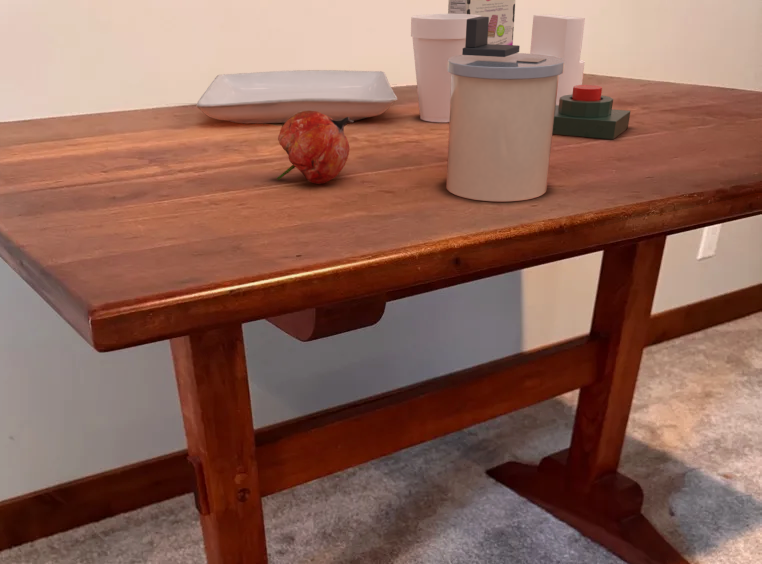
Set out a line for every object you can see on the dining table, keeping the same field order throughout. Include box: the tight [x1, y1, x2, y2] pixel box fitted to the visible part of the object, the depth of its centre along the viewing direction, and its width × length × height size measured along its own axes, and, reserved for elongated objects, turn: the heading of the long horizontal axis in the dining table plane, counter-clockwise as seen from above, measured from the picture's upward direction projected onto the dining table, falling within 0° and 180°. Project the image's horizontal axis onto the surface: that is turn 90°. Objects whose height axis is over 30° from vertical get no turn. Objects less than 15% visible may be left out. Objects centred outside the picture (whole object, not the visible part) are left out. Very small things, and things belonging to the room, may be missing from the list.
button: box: [572, 84, 603, 101], centre depth 102 cm, size 4×4×2 cm
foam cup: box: [410, 13, 481, 123], centre depth 110 cm, size 10×9×13 cm
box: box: [552, 94, 631, 141], centre depth 104 cm, size 10×8×4 cm
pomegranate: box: [276, 111, 355, 185], centre depth 82 cm, size 7×7×10 cm
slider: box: [462, 17, 520, 57], centre depth 74 cm, size 4×4×3 cm
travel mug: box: [445, 52, 565, 203], centre depth 78 cm, size 11×11×12 cm
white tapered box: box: [529, 13, 586, 105], centre depth 119 cm, size 9×9×12 cm
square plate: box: [196, 69, 398, 124], centre depth 119 cm, size 27×27×4 cm
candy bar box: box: [447, 0, 516, 45], centre depth 131 cm, size 11×5×16 cm, turn 129°
